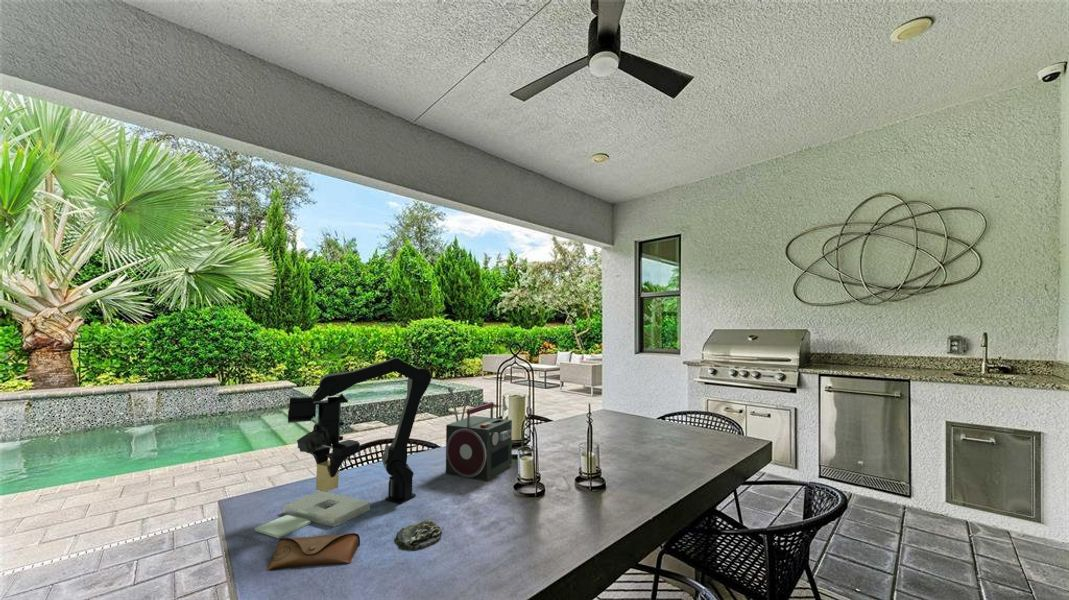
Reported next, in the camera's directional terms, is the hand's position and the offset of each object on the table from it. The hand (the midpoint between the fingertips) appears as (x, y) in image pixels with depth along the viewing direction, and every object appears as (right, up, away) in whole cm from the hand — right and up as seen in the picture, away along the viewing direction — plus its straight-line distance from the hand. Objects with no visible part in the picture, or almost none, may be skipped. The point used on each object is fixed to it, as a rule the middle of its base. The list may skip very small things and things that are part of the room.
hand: (327, 475), depth 122 cm
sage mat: (-7, -9, -10) cm, 15 cm away
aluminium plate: (0, -10, -1) cm, 10 cm away
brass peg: (0, -4, 0) cm, 4 cm away
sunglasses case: (+9, -9, -25) cm, 28 cm away
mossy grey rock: (+30, -10, -16) cm, 35 cm away
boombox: (+38, -12, +34) cm, 53 cm away
